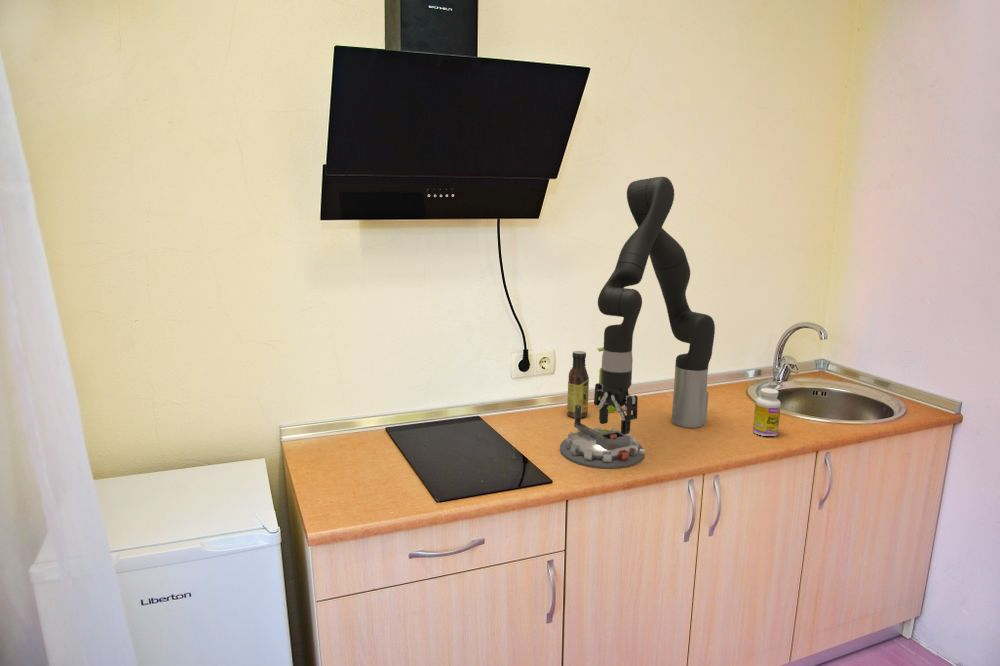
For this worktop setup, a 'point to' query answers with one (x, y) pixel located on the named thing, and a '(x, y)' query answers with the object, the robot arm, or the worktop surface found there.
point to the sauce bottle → (578, 385)
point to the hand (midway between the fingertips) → (613, 428)
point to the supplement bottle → (767, 413)
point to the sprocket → (587, 442)
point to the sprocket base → (599, 462)
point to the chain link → (612, 440)
